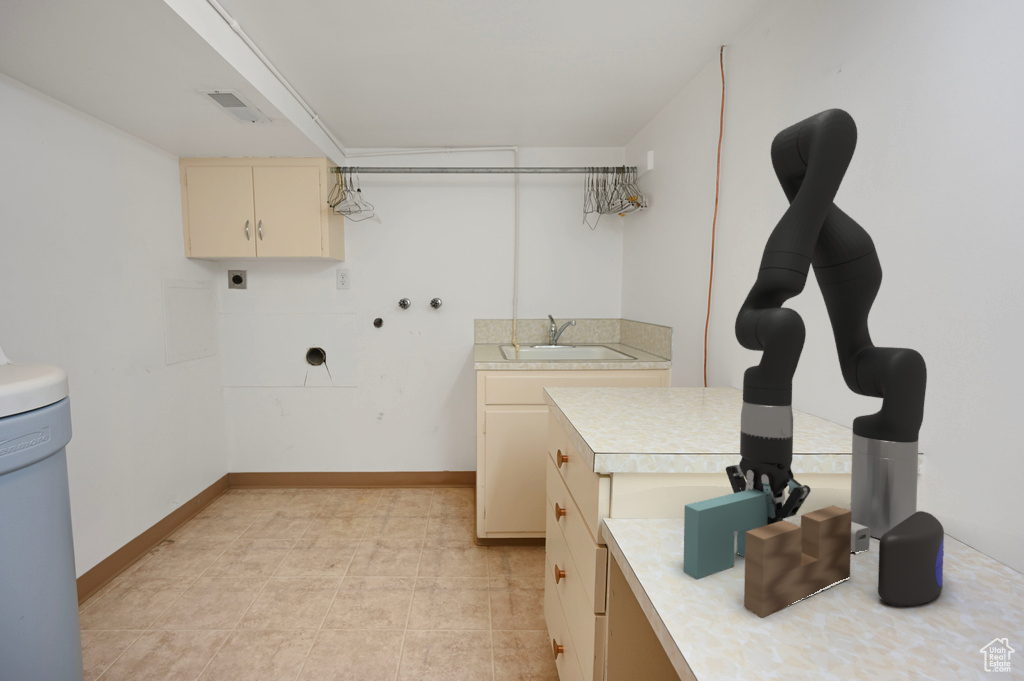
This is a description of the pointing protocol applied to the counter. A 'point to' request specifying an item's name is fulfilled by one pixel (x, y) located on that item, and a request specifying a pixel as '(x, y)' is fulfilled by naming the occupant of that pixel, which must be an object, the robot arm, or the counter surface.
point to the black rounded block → (911, 561)
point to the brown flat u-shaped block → (796, 559)
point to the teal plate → (720, 530)
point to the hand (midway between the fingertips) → (763, 534)
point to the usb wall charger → (859, 537)
